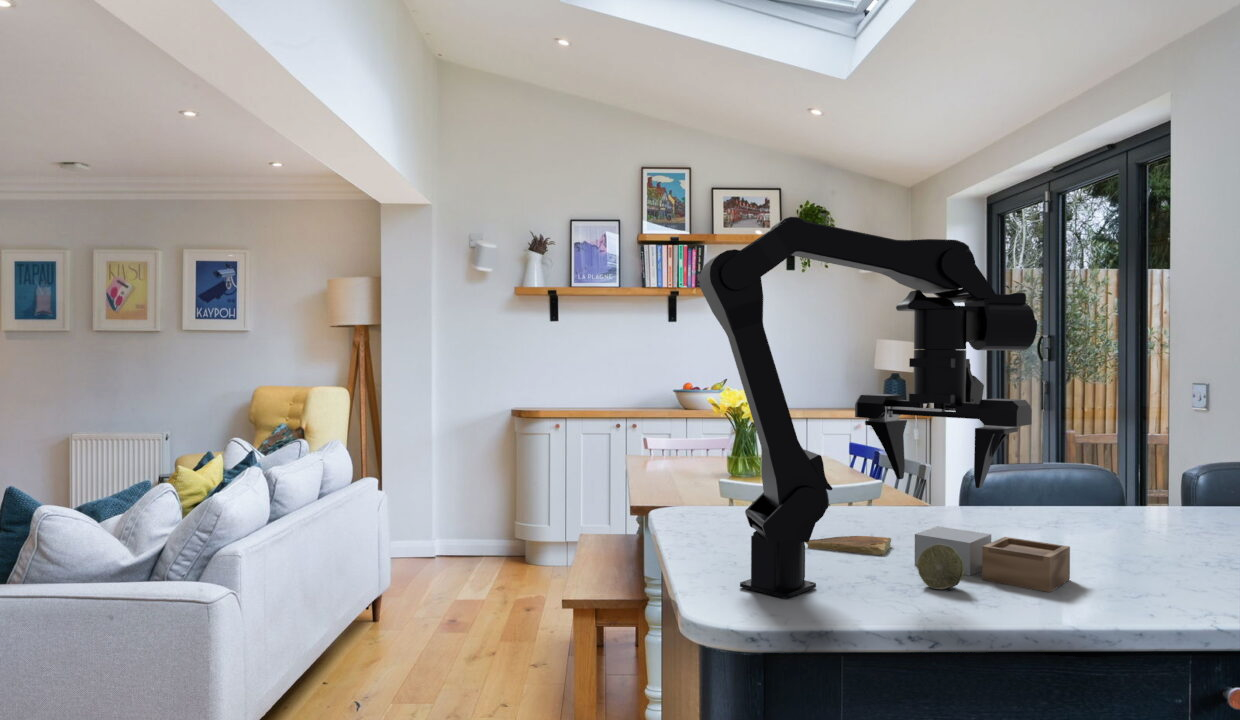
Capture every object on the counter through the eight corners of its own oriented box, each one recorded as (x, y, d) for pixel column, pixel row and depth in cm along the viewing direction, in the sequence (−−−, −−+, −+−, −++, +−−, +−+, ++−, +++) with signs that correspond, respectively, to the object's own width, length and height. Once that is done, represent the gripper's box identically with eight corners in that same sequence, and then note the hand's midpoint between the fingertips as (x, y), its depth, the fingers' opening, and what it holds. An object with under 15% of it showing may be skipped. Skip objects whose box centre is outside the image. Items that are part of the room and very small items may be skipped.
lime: (969, 593, 92) (969, 549, 92) (926, 592, 92) (926, 548, 92) (953, 582, 97) (954, 540, 97) (912, 581, 97) (913, 540, 97)
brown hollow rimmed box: (1049, 592, 92) (1049, 557, 92) (982, 579, 98) (982, 546, 98) (1069, 579, 98) (1069, 546, 98) (1004, 568, 103) (1004, 536, 103)
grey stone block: (969, 575, 100) (970, 542, 99) (914, 565, 104) (914, 534, 104) (991, 565, 104) (991, 534, 104) (937, 555, 109) (937, 526, 109)
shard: (804, 551, 114) (804, 538, 114) (816, 540, 121) (816, 528, 121) (884, 559, 109) (884, 546, 109) (892, 548, 116) (892, 535, 116)
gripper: (1047, 351, 95) (1045, 484, 95) (893, 350, 107) (892, 468, 107) (1015, 349, 86) (1014, 496, 87) (853, 349, 99) (852, 477, 99)
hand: (938, 483), depth 95 cm, fingers open, 9 cm apart
